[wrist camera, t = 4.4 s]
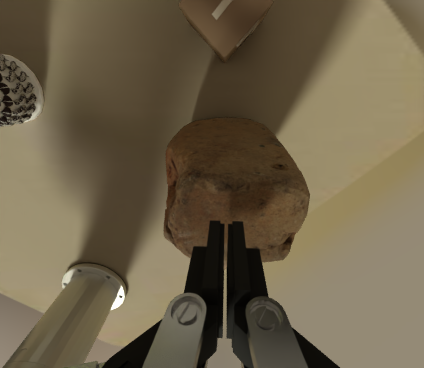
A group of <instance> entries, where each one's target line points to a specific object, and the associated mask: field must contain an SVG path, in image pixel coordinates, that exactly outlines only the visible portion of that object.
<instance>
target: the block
mask: <svg viewBox="0 0 424 368" xmlns="http://www.w3.org/2000/svg"><path fill="white" fill-rule="evenodd" d="M166 170H167V184H168V197H167V201H166V205H167V209H166V210H165V220H164V236H165V238H166V239H167V240H168V241H170V242H171V243H173V244H174V245H175V247H176V248H177V249H179V250H180V251H181V252H182V253H183V254H184V255H186V256H187V257H189V258H191V255H192V250H193V247H194V246H207V240H208V232H209V224H210V220H216V221H221V224H225V232H224V262H226V263H227V242H228V224H232V221H243V225H244V234H245V242H246V248H259V250H260V255H261V260H262V262H271V261H278V260H283V259H284V258H285V257H286V256H287V255H288V254H289V252H290V248H291V245H292V242H293V240H294V236H295V234H296V233H297V232H298V231H299V229H300V228H301V226H302V224H303V222H304V220H305V218H306V216H307V212H308V205H309V198H310V193H309V190H308V187H307V184H306V182H305V179H304V177H303V175H302V173H301V171H300V170H299V169H298V167H297V165H296V163H295V162H294V160H293V159H292V157H291V156H290V155H289V153H288V152H287V150H286V149H285V148H284V146H283V145H282V144H281V143H280V142H279V140H278V139H277V138H276V137H275V135H274V134H273V133H272V132H271V131H270V130H269V129H268V128H266V127H265V126H264V125H263V124H260V123H257V122H254V121H252V120H250V119H243V118H228V117H226V118H214V119H207V120H198V121H194V122H191V123H189V124H188V125H186V126H184V127H183V128H182V129H181V130H180V131H179V132H178V133H177V134H176V135H175V136H174V137H173V138H172V140H171V141H170V143H169V145H168V147H167V150H166Z"/></svg>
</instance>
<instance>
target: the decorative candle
mask: <svg viewBox="0 0 424 368" xmlns="http://www.w3.org/2000/svg"><path fill="white" fill-rule="evenodd" d="M43 105H44V96H43V90H42V87H41V85H40V83H39V81H38V79H37V77H36V75H35V74H34V73H33V72H32V71H31V70H30V69H29V68H28V67H27V66H26V64H25V63H23V62H22V61H20V60H18V59H16V58H15V57H13V56H11V55H5V54H0V127H1V126H12V125H14V124H21V123H23V122H27V121H31V120H34V119H36V118H37V117H38V116H39V114H40V113H41V112H42V109H43Z"/></svg>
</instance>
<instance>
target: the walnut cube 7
mask: <svg viewBox="0 0 424 368" xmlns="http://www.w3.org/2000/svg"><path fill="white" fill-rule="evenodd" d="M272 4H273V1H272V0H181V2H180V3H179V7H180V9H181V10H182V12H183V14H184V15H185V17H186V19H187V20H188V22H189V23H190V24H191V25H192V26H193V27H194V29H195V30H196V31H197V32H198V33H199V34H200V35H201V37H202V38H203V39H204V40H205V41H206V42H207V43H208V45H209V46H210V47H211V48H212V49H213V50H214V51H215V53H216V54H217V55H218V56H219V57H220V58H221V59H222V61H223V62H224V63H225V62H226V61H227V60H228V59H229V58H230V56H231V55H232V54H233V53H234V52H235V51H236V50H237V48H238V47H239V46H240V45H241V44H242V43H243V42H244V40H245V39H246V38H247V37H248V36H249V35H251V34H252V33H253V31H254V30H255V29H256V27H257V26H258V25H259V23H260V22H261V21H262V20H263V19H264V17H265V15H266V14H267V12H268V10H269V9H270V7H271V5H272Z"/></svg>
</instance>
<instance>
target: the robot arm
mask: <svg viewBox="0 0 424 368" xmlns="http://www.w3.org/2000/svg"><path fill="white" fill-rule="evenodd" d="M224 232H225V224H221V221H216V220H210V224H209V232H208V240H207V246H194V247H193V250H192V255H191V260H190V265H189V270H188V275H187V280H186V285H185V290H184V293H183V294H180V295H178V296H176V297H175V298H174V299H173V300H172V301H171V302H170V304H169V306H168V308H167V310H166V312H165V315H164V317H163V319H162V320H160V321H159V322H158V323H156V324H155V325H154V326H152V327H151V328H150V329H148V330H147V331H146V332H144V333H143V334H142V335H140V336H139V337H138V338H136V339H135V340H134V341H132V342H131V343H129V344H128V345H127V346H125V347H124V348H123V349H121V350H120V351H119V352H117V353H116V354H115V355H113V356H112V357H111V358H110V359H109V360H108V361H107V362H104V363H99V364H98V362H97V361H94V362H89V363H84V362H85V360H86V358H87V356H88V354H89V352H90V350H91V348H92V346H93V344H94V342H95V340H96V338H97V336H98V334H99V332H100V330H101V328H102V326H103V324H104V322H105V320H106V318H107V316H108V314H109V312H110V310H113V309H115V308H117V307H119V306H120V305H121V304H122V303H123V301H124V299H125V297H126V291H127V290H126V286H125V284H124V282H123V281H122V279H121V278H120V277H119V276H118V275H117V274H116V273H114V272H113V271H112V270H110V269H108V268H106V267H103V266H100V265H96V264H89V263H85V264H78V265H75V266H73V267H71V268H70V269H69V270H68V271H67V272H66V273H65V274H64V276H63V278H62V287H63V290H62V292H61V293H60V294H59V296H58V297H57V298H56V299H55V301H54V302H53V303H52V305H51V306H50V307H49V308H48V310H47V311H46V312H45V314H44V315H43V316H42V317H41V319H40V320H39V321H38V323H37V324H36V325H35V326H34V328H33V329H32V330H31V332H30V333H29V334H28V335H27V337H26V338H25V340H24V341H23V342H22V343H21V345H20V346H19V347H18V348H17V350H16V351H15V352H14V353H13V355H12V356H11V357H10V359H9V360H8V361H7V362H6V364H5V365H4V366H3V368H207V363H208V359H209V358H210V357H211V356H212V355H213V354H214V353H215V352H216V348H217V338H222V336H223V335H222V334H223V289H224V287H223V286H224ZM227 338H229V339H232V348H233V353H234V354H235V355H236V356H237V357H238V358H239V359H240V361H241V367H242V368H340V367H339V366H338V365H336V364H335V363H334V362H333V361H332V360H330V359H329V358H328V357H327V356H326V355H324V354H323V353H322V352H321V351H320V350H318V349H317V348H316V347H315V346H314V345H313V344H311V343H310V342H309V341H308V340H306V339H305V338H304V337H303V336H302V335H300V334H299V333H298V332H297V331H296V330H295V329H293V328H292V327H291V325H290V322H289V320H288V317H287V315H286V313H285V311H284V309H283V307H282V306H281V305H280V304H279V303H278V302H277V301H275V300H273V299H272V298H269V297H268V293H267V288H266V281H265V276H264V271H263V266H262V260H261V255H260V250H259V248H246V242H245V234H244V225H243V221H232V224H228V242H227Z"/></svg>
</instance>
